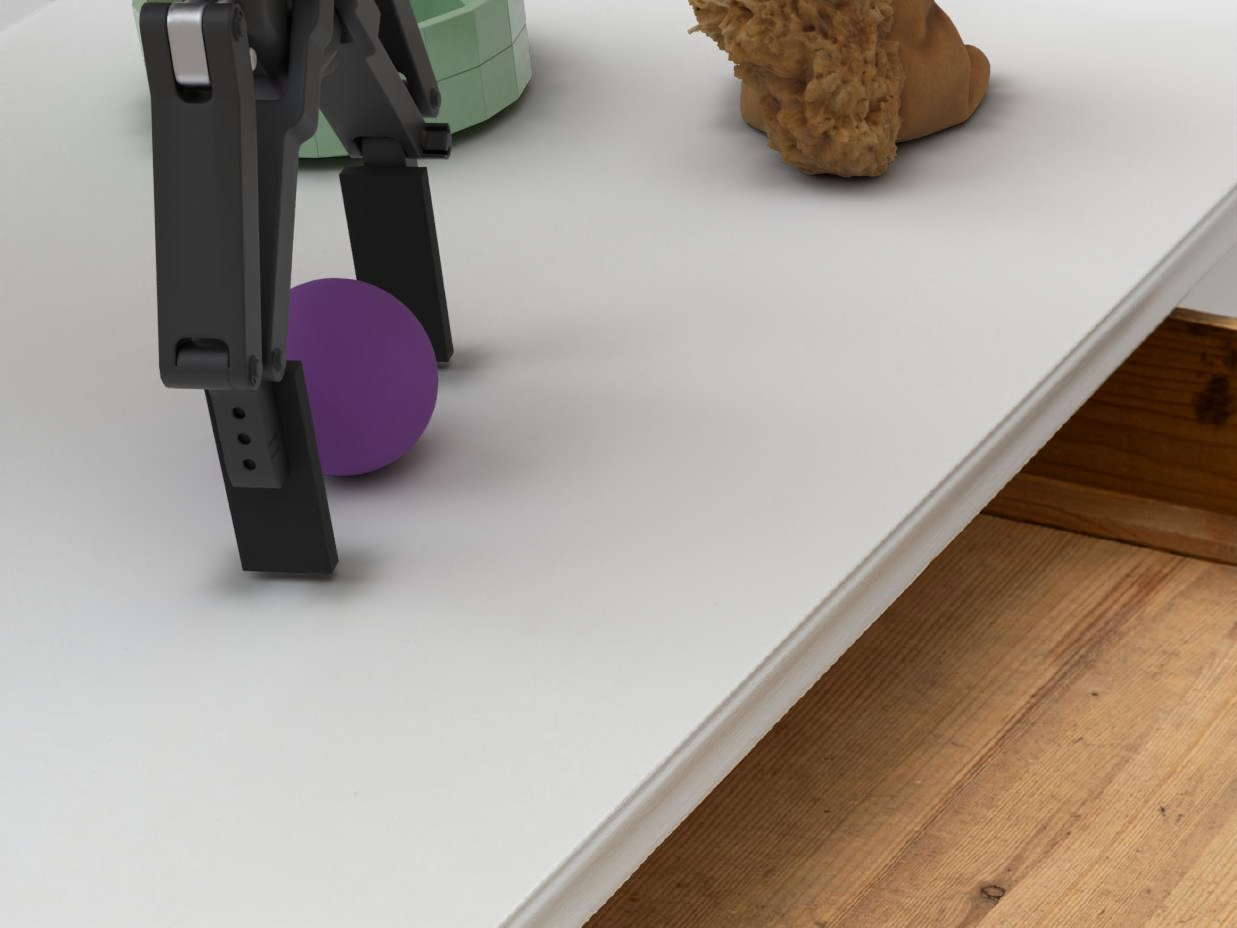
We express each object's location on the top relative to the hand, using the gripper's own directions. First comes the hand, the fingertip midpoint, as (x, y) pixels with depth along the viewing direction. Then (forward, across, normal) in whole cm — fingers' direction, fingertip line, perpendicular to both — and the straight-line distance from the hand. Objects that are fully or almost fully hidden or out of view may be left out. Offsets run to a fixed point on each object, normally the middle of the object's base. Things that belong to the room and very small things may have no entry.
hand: (355, 455), depth 81 cm
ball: (0, 0, 0) cm, 0 cm away
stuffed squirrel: (0, +27, -12) cm, 30 cm away
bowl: (0, +30, +9) cm, 31 cm away
